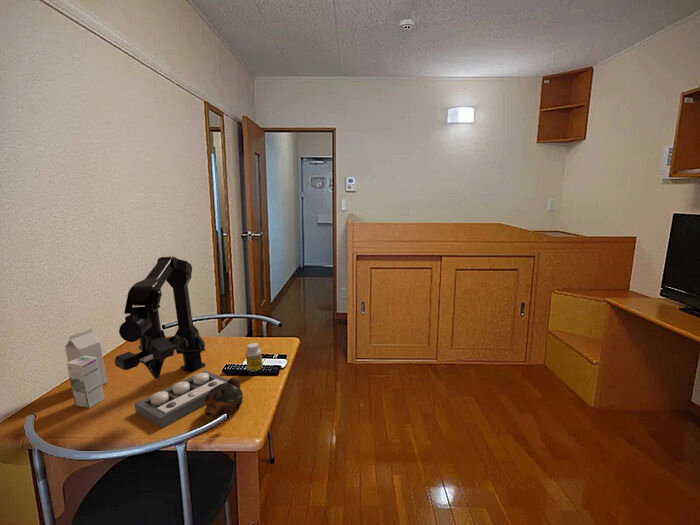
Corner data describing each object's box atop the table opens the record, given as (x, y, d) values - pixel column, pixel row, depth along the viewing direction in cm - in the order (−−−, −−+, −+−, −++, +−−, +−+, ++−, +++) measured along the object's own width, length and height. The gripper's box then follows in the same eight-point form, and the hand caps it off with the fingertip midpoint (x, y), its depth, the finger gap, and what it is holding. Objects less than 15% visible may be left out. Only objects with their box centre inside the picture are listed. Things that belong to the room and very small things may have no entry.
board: (135, 412, 118) (134, 401, 117) (206, 378, 137) (205, 369, 136) (161, 427, 110) (160, 416, 109) (232, 389, 129) (231, 379, 128)
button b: (170, 392, 124) (169, 386, 123) (184, 386, 128) (183, 380, 127) (179, 397, 121) (178, 390, 121) (193, 390, 125) (192, 384, 124)
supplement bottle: (259, 365, 145) (257, 340, 144) (265, 371, 141) (263, 345, 139) (245, 369, 143) (242, 344, 141) (250, 375, 138) (248, 349, 136)
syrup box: (105, 399, 126) (97, 356, 124) (88, 409, 121) (80, 364, 118) (91, 397, 128) (83, 354, 125) (74, 407, 122) (65, 362, 120)
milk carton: (107, 382, 137) (98, 330, 133) (86, 393, 131) (76, 338, 127) (94, 379, 140) (84, 327, 136) (72, 389, 134) (62, 335, 130)
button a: (147, 403, 118) (147, 397, 118) (163, 395, 122) (162, 389, 122) (156, 408, 115) (155, 401, 115) (172, 400, 119) (171, 394, 119)
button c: (190, 383, 129) (189, 377, 129) (203, 376, 133) (202, 371, 133) (199, 387, 127) (198, 381, 126) (212, 380, 130) (211, 374, 130)
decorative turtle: (252, 398, 124) (250, 374, 122) (227, 427, 109) (224, 400, 108) (224, 395, 126) (221, 372, 124) (195, 424, 111) (192, 397, 110)
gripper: (130, 345, 102) (139, 401, 105) (195, 323, 117) (201, 372, 120) (109, 336, 108) (118, 389, 112) (173, 316, 123) (180, 364, 126)
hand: (156, 378), depth 117 cm, fingers closed
